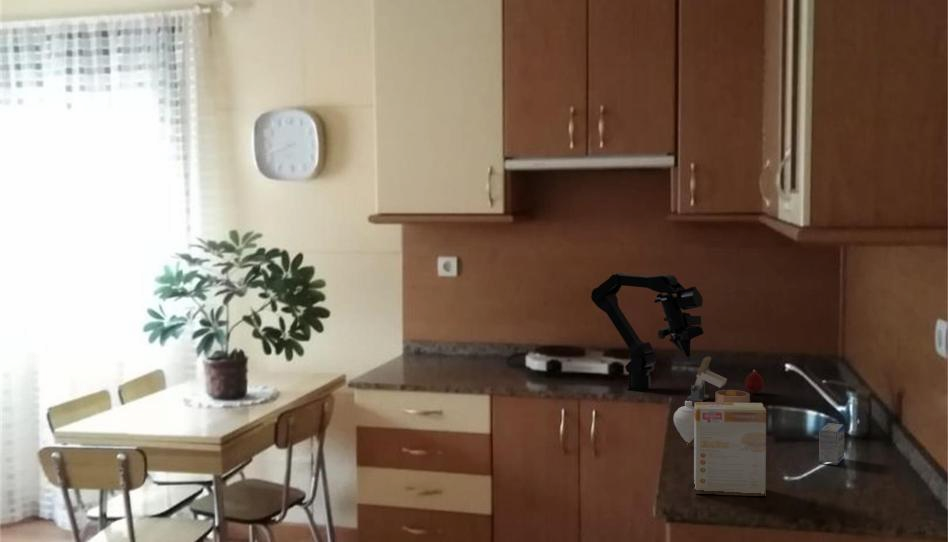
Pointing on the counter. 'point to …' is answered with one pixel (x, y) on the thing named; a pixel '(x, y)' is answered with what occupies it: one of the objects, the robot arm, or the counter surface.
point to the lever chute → (708, 375)
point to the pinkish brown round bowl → (732, 397)
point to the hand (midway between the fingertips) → (688, 356)
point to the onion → (754, 382)
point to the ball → (730, 393)
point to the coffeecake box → (730, 447)
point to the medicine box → (831, 443)
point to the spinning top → (685, 421)
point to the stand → (697, 393)
